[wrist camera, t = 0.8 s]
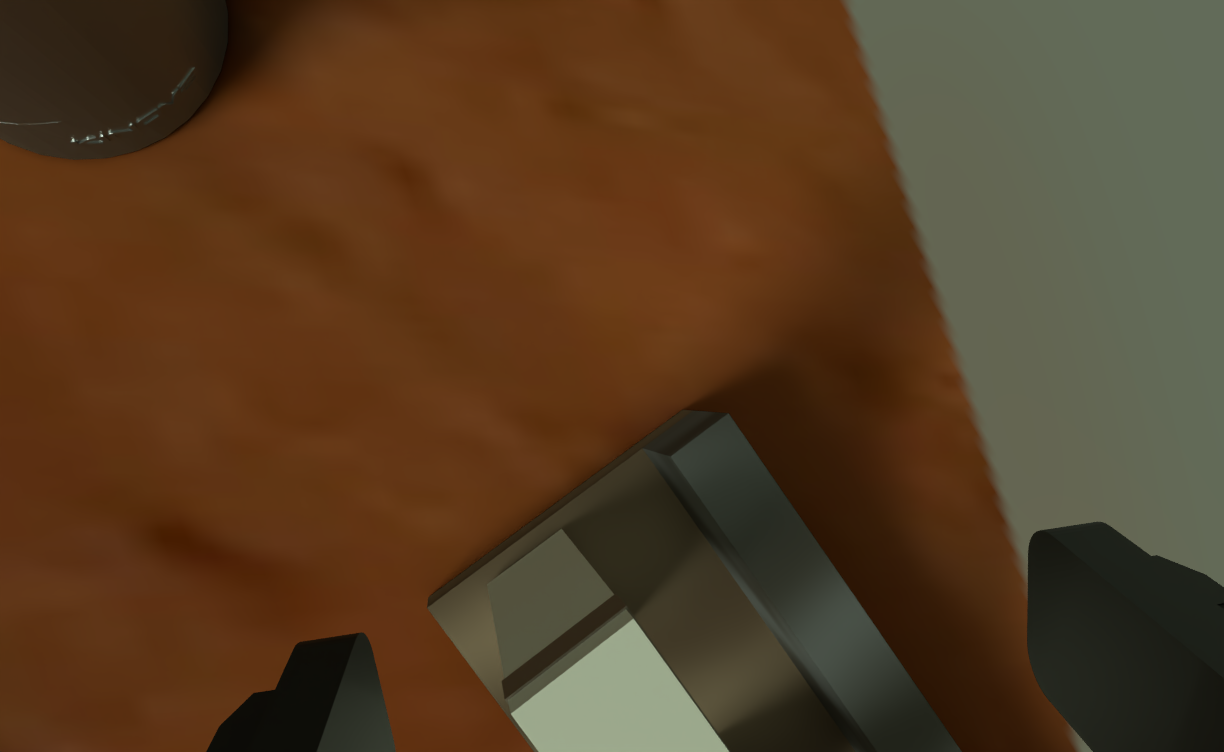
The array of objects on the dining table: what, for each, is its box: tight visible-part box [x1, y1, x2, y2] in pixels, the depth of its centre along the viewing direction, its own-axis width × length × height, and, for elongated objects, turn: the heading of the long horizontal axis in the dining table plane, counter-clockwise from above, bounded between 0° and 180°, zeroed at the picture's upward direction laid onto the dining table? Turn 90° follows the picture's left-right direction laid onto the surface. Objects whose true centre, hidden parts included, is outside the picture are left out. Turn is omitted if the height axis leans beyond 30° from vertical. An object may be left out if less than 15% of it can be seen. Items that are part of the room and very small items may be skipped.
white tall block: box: [487, 529, 731, 752], centre depth 24 cm, size 4×3×12 cm
